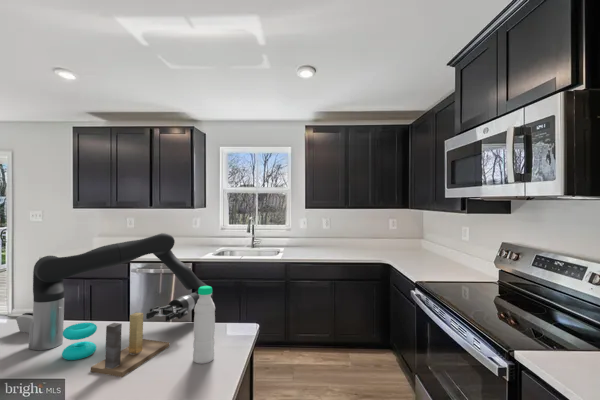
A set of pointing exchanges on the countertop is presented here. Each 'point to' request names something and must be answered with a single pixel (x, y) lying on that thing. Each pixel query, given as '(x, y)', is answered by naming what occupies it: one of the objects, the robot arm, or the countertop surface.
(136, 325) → the brass leg
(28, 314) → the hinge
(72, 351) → the donuts
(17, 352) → the countertop surface
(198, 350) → the water bottle
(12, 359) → the countertop surface
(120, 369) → the brown wooden stand
